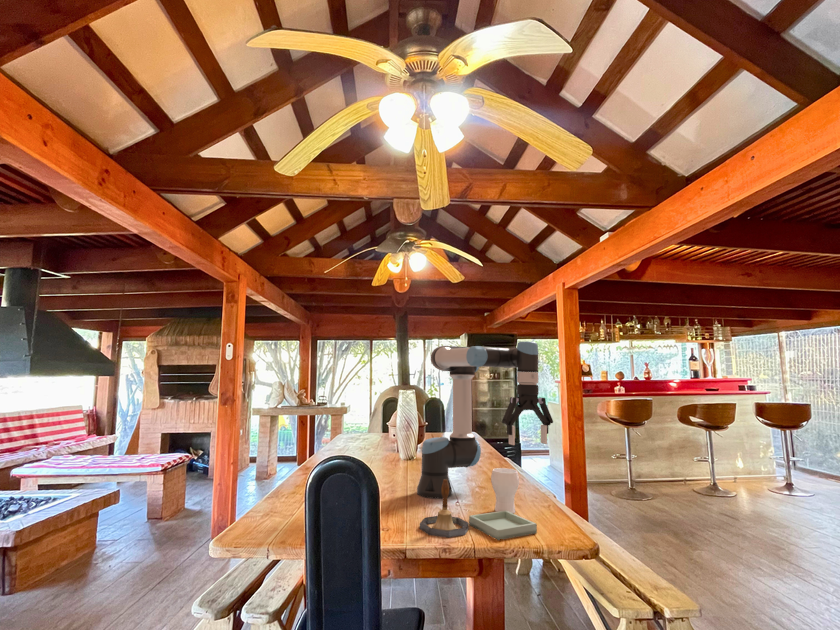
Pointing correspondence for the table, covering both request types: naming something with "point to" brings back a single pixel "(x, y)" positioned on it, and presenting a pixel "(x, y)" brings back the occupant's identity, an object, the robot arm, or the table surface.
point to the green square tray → (502, 524)
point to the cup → (505, 488)
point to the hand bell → (444, 511)
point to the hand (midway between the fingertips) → (528, 444)
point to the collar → (444, 532)
